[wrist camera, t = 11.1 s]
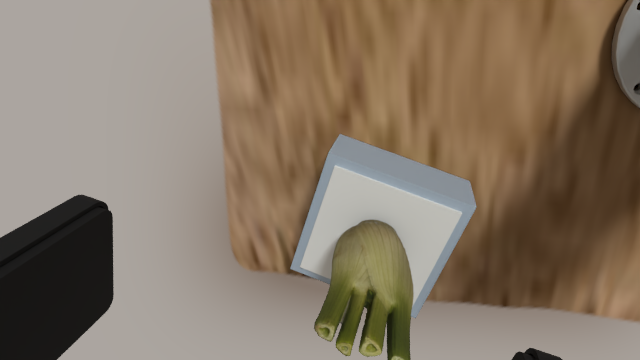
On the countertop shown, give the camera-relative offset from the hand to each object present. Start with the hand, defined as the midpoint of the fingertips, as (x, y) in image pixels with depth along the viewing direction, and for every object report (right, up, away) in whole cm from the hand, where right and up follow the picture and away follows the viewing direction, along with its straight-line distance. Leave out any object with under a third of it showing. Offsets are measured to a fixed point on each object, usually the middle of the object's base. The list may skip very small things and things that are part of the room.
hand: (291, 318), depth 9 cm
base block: (+6, 0, +29) cm, 30 cm away
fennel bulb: (+5, -2, +25) cm, 26 cm away
